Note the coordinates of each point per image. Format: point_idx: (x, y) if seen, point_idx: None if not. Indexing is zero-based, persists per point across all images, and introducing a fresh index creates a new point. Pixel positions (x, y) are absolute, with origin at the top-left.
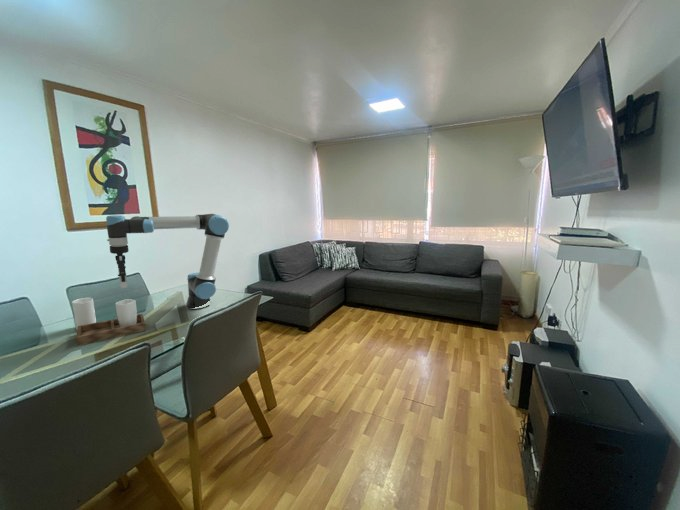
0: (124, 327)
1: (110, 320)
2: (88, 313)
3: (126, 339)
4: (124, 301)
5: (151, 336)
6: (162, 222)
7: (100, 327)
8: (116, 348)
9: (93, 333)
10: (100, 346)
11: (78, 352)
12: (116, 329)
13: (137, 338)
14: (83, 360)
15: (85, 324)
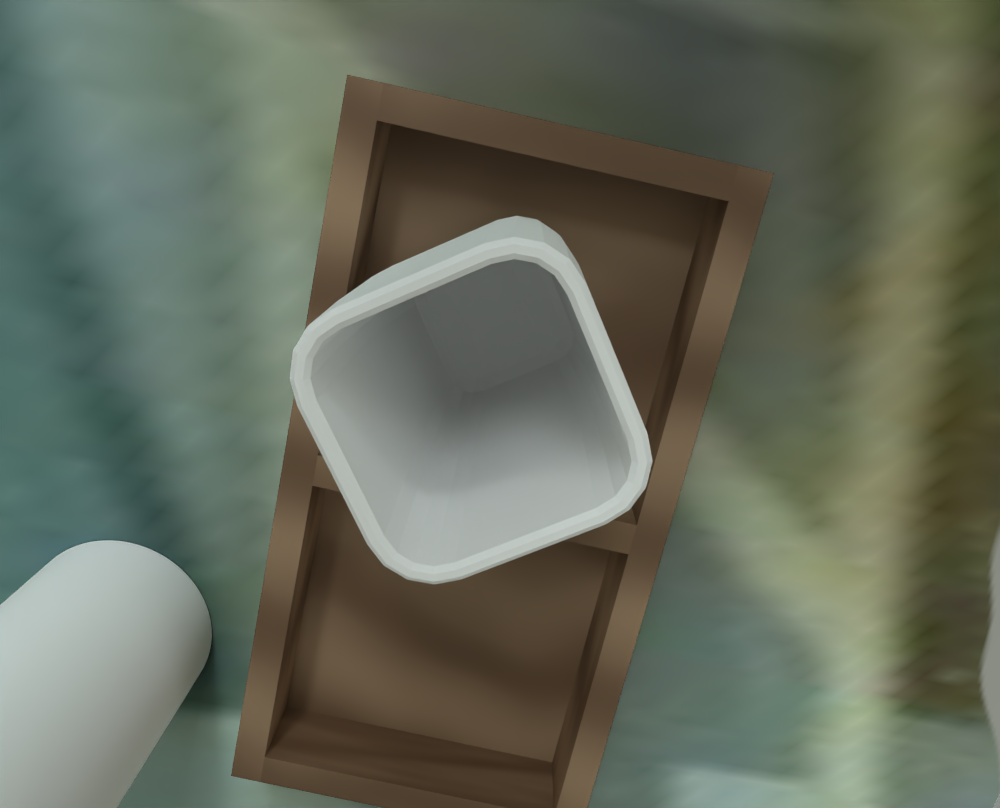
0: (697, 425)
1: (310, 487)
2: (117, 739)
3: (814, 419)
4: (325, 392)
5: (989, 181)
6: None
7: (309, 560)
8: (951, 551)
9: (601, 713)
10: (764, 641)
11: (731, 793)
12: (672, 507)
13: (896, 323)
14: (940, 797)
15: (183, 689)
